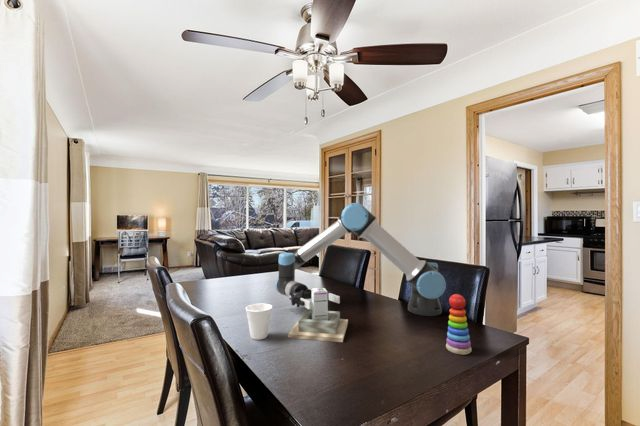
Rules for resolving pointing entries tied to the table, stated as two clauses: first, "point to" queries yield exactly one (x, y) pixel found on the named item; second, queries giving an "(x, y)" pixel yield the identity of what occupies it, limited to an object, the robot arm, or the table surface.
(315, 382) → the table surface
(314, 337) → the socket block
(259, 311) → the cup
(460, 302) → the stacking toy
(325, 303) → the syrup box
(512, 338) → the table surface
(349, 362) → the table surface
